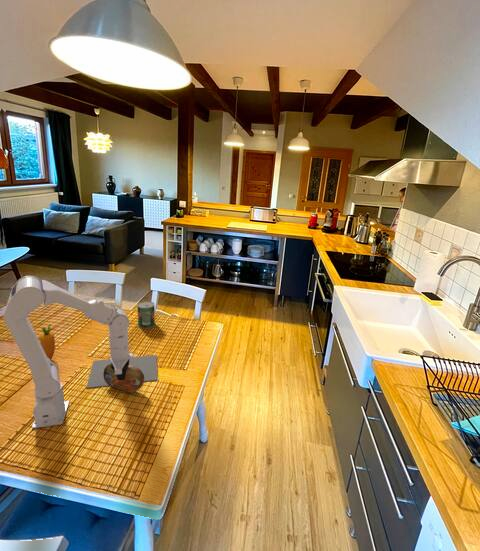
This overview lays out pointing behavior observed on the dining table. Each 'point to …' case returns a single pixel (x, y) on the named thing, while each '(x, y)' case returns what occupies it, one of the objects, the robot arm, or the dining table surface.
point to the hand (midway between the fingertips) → (121, 378)
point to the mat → (142, 362)
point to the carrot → (48, 342)
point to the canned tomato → (146, 314)
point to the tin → (131, 382)
